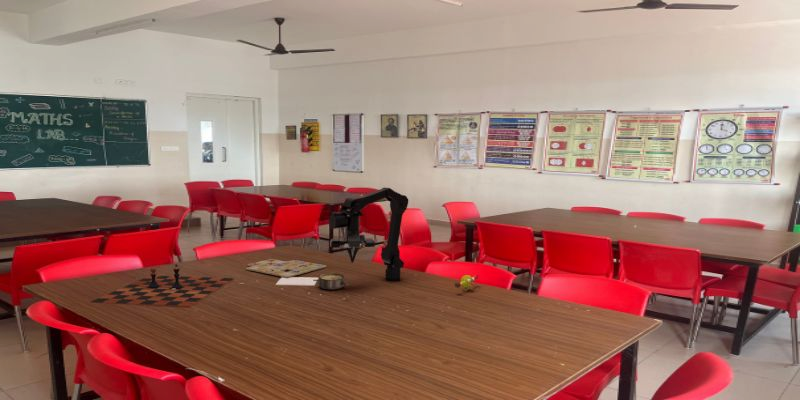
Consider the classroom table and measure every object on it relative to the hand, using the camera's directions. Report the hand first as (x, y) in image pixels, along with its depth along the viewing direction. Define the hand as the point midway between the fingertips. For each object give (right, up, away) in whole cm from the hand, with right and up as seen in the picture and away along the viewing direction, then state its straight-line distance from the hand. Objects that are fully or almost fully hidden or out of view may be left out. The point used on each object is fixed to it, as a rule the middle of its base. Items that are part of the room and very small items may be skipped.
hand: (352, 262), depth 221 cm
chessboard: (-76, -11, -8) cm, 77 cm away
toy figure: (+50, -12, 0) cm, 51 cm away
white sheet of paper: (-25, -10, +8) cm, 28 cm away
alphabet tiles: (-37, -7, +32) cm, 50 cm away
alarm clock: (-15, -8, +3) cm, 17 cm away
